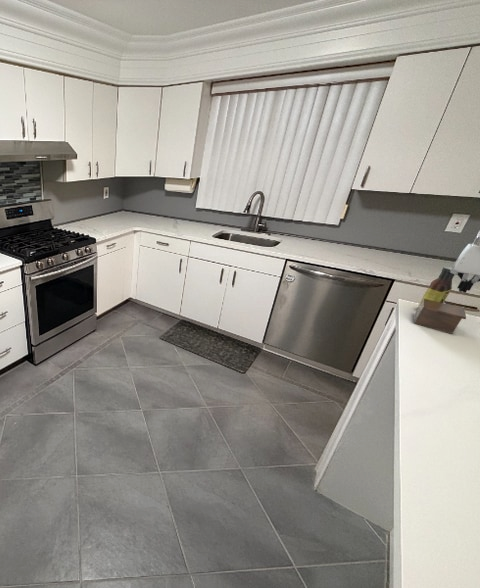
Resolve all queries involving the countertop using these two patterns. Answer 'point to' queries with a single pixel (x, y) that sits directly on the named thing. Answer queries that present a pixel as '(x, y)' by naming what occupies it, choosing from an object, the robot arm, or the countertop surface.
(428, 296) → the sauce bottle
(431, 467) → the countertop surface
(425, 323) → the walnut box
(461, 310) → the hatch
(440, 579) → the countertop surface
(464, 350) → the countertop surface
